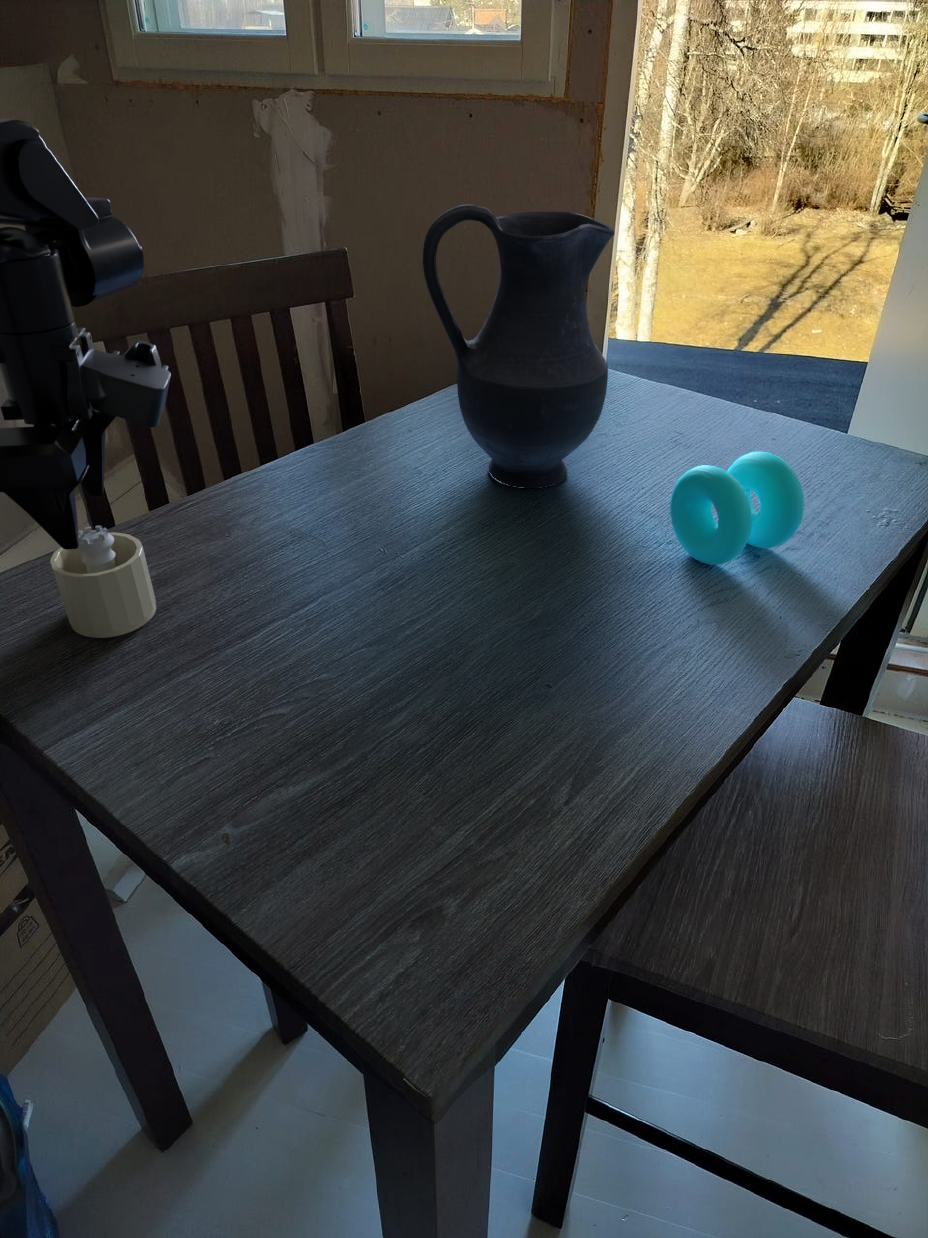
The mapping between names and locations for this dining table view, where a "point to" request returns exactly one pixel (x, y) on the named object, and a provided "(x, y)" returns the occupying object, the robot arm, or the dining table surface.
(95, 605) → the cup
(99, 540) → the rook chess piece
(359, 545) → the dining table surface
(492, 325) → the pitcher
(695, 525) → the donuts
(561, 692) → the dining table surface
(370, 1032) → the dining table surface
